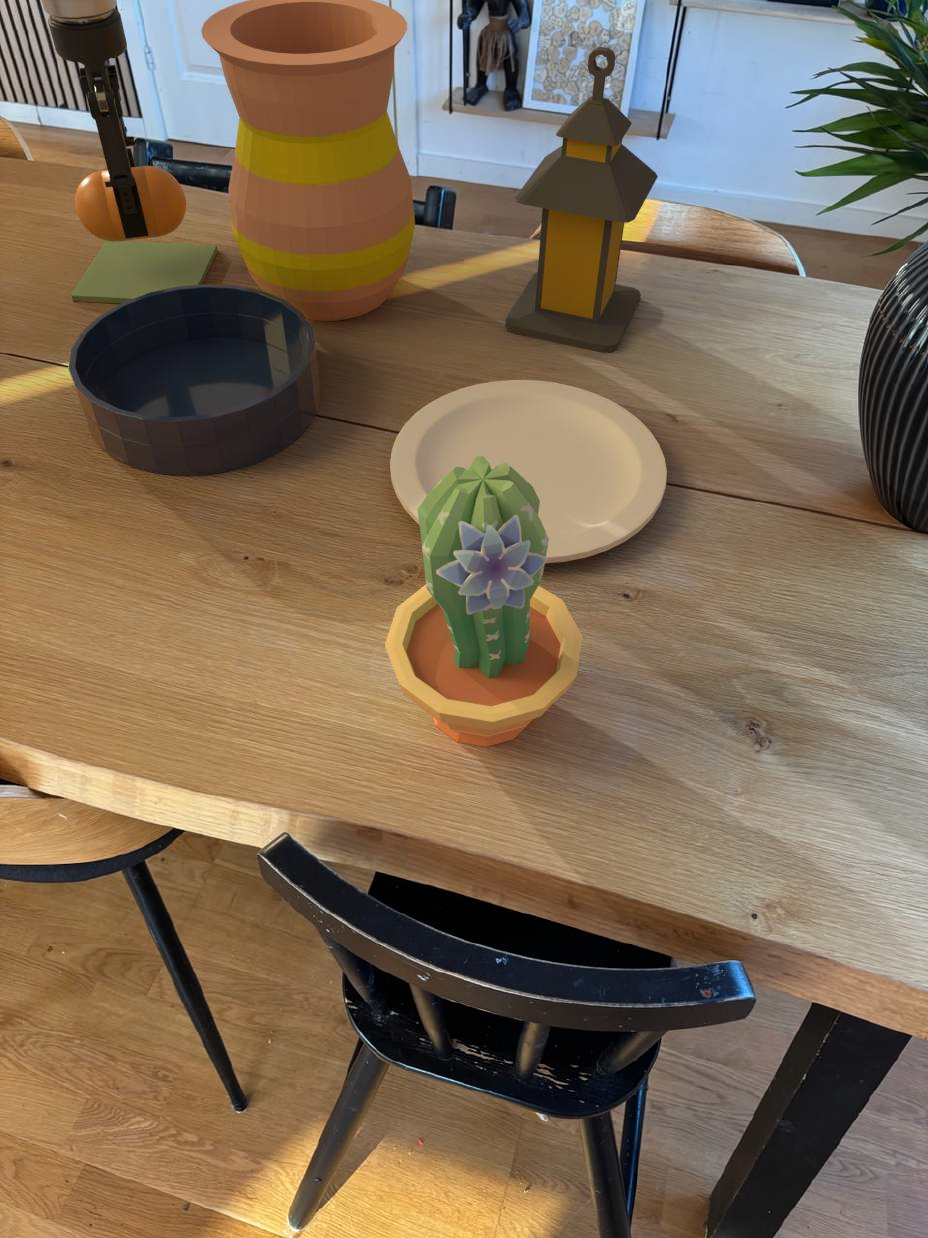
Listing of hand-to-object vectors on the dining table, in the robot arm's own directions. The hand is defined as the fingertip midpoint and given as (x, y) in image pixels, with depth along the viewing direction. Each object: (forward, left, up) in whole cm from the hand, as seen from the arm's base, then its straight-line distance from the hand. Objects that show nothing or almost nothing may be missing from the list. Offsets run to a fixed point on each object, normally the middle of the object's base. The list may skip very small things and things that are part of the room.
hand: (134, 218), depth 121 cm
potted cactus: (+47, -65, -8) cm, 81 cm away
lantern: (+55, -4, -8) cm, 56 cm away
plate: (+50, -36, -8) cm, 62 cm away
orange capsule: (0, 0, -2) cm, 2 cm away
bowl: (+14, -26, -8) cm, 30 cm away
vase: (+24, -1, -8) cm, 25 cm away
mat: (0, 0, -8) cm, 8 cm away
